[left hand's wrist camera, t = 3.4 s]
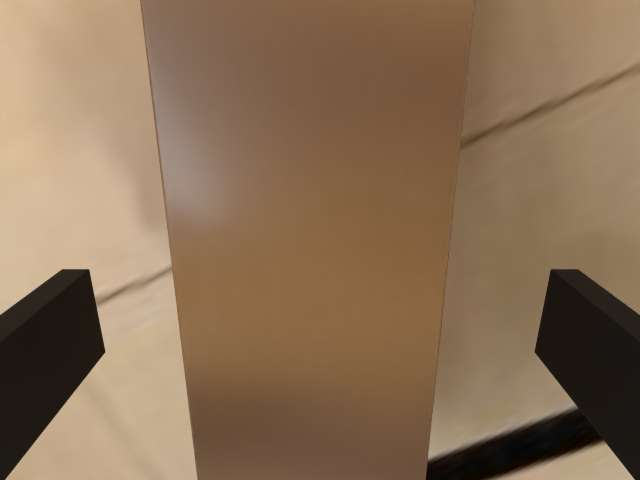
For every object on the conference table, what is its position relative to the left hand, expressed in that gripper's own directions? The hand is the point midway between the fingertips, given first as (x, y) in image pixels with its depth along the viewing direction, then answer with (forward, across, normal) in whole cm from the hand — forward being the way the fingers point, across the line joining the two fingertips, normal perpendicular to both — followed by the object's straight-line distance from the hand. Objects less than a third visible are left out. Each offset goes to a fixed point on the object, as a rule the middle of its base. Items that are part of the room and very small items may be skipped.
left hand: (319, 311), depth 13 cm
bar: (+5, 0, -20) cm, 20 cm away
